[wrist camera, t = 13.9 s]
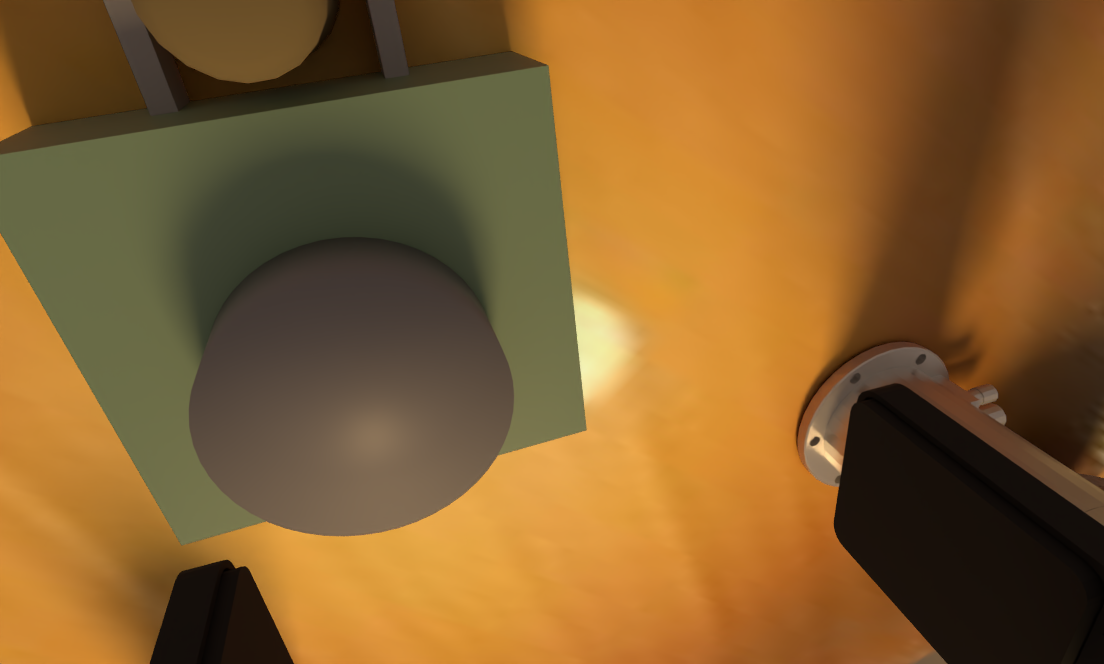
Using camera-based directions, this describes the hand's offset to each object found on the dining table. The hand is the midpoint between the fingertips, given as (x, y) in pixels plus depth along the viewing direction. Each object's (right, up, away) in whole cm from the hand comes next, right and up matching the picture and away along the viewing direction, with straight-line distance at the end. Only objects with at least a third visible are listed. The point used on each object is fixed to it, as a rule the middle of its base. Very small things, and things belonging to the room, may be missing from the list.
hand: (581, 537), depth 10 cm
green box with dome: (-11, +10, +20) cm, 25 cm away
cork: (-12, +17, +16) cm, 27 cm away
